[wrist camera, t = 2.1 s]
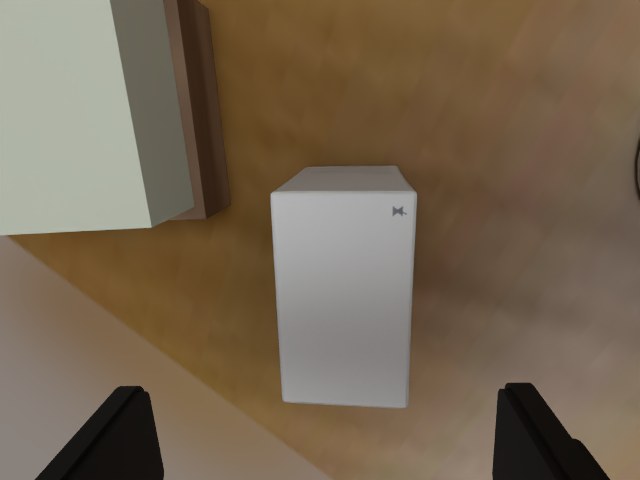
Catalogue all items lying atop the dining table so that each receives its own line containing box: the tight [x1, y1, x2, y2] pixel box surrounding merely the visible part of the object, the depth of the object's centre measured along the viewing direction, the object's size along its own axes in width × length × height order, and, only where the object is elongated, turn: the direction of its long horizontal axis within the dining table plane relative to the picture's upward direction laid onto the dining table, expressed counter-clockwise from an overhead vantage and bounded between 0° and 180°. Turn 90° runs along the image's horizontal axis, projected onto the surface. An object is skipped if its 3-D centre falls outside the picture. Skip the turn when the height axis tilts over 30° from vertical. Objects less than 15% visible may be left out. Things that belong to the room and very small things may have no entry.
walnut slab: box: [163, 0, 231, 220], centre depth 25 cm, size 12×12×5 cm
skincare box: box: [271, 166, 417, 408], centre depth 23 cm, size 10×6×10 cm, turn 1°
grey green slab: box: [0, 0, 195, 235], centre depth 20 cm, size 11×11×5 cm
